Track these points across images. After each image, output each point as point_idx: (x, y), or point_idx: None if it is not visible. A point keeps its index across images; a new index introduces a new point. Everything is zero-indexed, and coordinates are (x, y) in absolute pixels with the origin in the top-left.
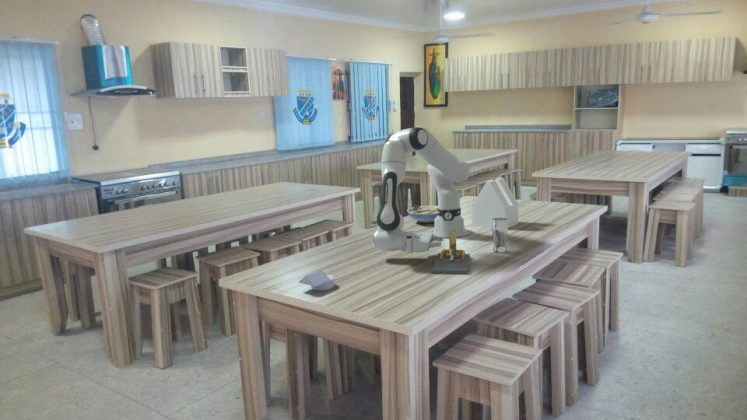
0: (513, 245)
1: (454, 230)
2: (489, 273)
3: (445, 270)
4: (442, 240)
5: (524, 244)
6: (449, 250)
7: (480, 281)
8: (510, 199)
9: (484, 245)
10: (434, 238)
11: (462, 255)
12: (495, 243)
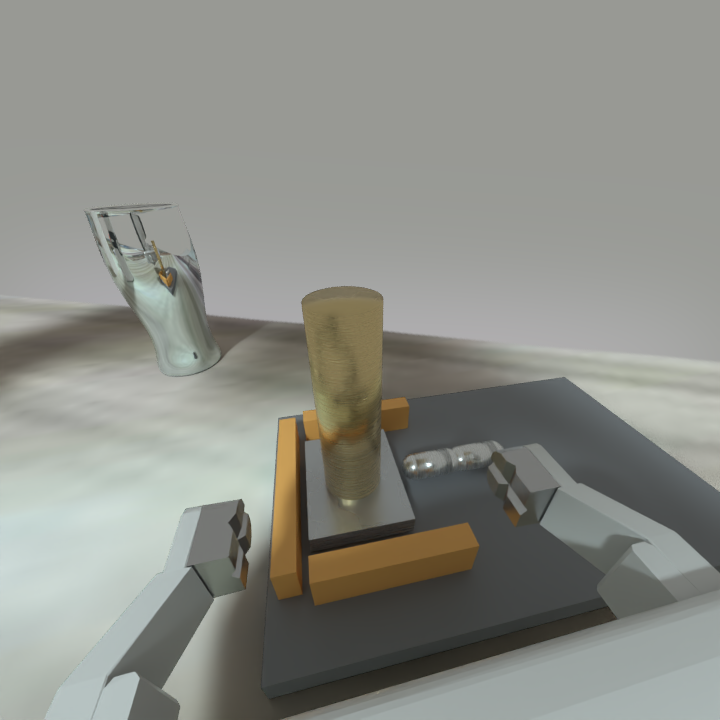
0: (113, 344)
1: (311, 294)
2: (489, 347)
3: (668, 457)
4: (250, 524)
5: (115, 328)
6: (364, 478)
7: (592, 351)
8: None
9: (40, 418)
10: (157, 704)
11: (407, 405)
12: (192, 332)
